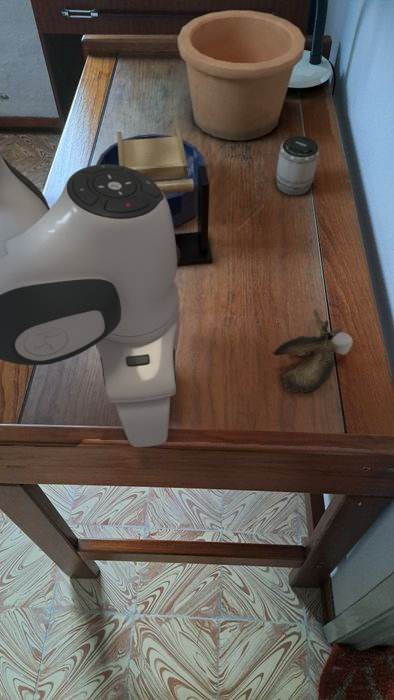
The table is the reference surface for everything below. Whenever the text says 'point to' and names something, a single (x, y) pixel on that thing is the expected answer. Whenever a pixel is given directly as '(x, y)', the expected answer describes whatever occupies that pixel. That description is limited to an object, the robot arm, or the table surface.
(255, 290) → the table surface
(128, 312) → the robot arm
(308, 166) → the camera lens
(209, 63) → the pottery
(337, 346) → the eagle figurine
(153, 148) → the tan piece
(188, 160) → the navy blue bowl
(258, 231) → the table surface
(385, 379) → the table surface
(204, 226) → the stand
